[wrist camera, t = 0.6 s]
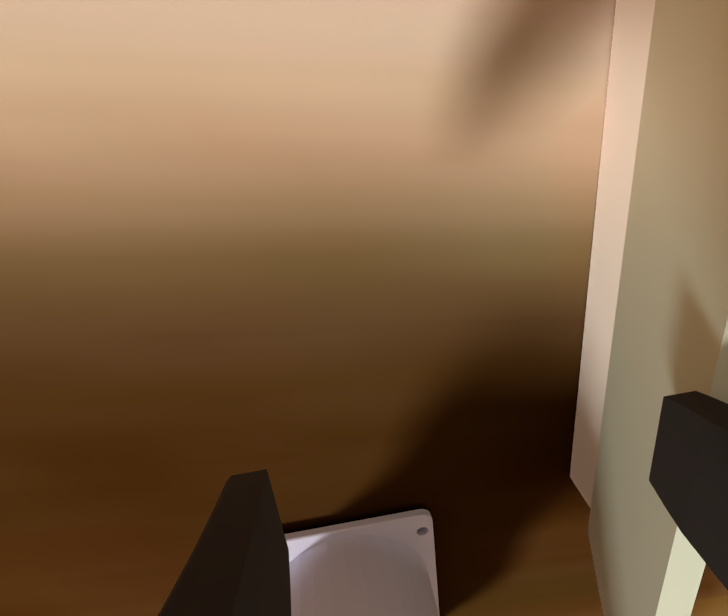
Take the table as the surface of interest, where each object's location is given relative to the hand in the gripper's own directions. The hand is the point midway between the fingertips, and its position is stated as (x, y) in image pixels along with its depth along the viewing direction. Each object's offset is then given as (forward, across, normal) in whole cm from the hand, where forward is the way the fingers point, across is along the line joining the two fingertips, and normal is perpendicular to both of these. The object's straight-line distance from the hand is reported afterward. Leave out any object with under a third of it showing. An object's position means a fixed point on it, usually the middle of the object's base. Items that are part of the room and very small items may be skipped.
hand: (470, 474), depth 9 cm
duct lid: (+3, -6, +1) cm, 7 cm away
